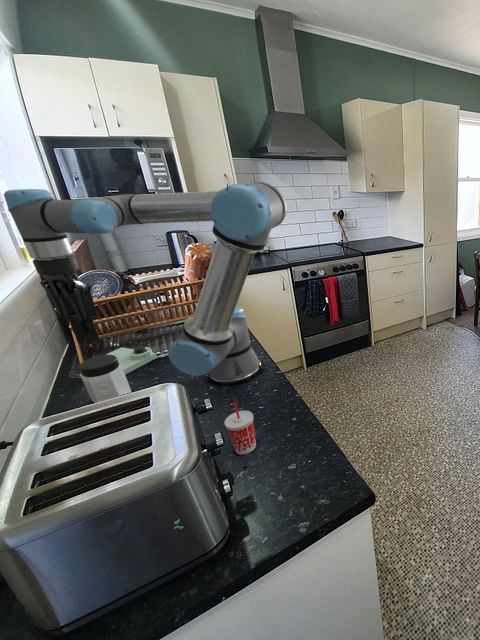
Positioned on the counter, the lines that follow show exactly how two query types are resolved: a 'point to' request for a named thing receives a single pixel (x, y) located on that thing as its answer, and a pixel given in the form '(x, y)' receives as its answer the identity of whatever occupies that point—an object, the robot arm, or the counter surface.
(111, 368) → the jar
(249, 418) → the beverage cup
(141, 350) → the tare button
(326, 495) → the counter surface
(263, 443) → the counter surface
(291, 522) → the counter surface
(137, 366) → the scale
